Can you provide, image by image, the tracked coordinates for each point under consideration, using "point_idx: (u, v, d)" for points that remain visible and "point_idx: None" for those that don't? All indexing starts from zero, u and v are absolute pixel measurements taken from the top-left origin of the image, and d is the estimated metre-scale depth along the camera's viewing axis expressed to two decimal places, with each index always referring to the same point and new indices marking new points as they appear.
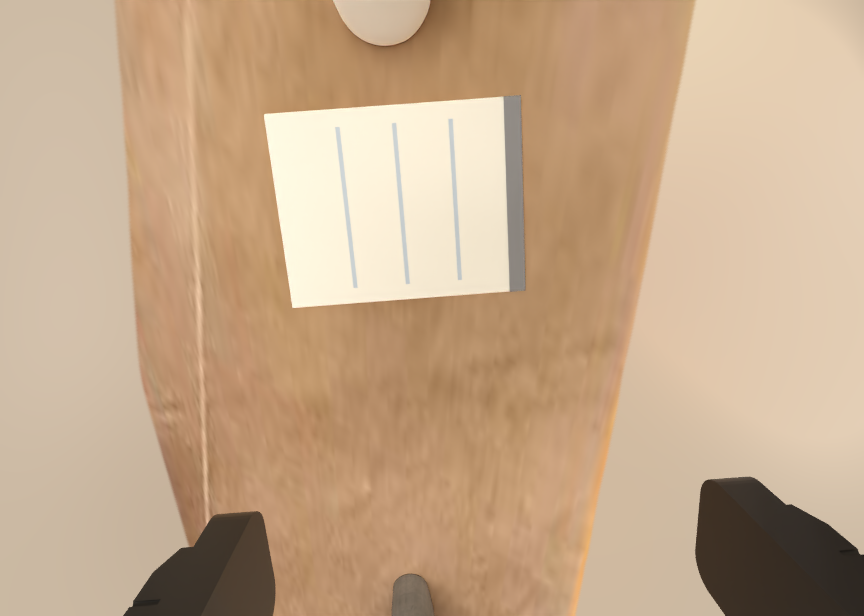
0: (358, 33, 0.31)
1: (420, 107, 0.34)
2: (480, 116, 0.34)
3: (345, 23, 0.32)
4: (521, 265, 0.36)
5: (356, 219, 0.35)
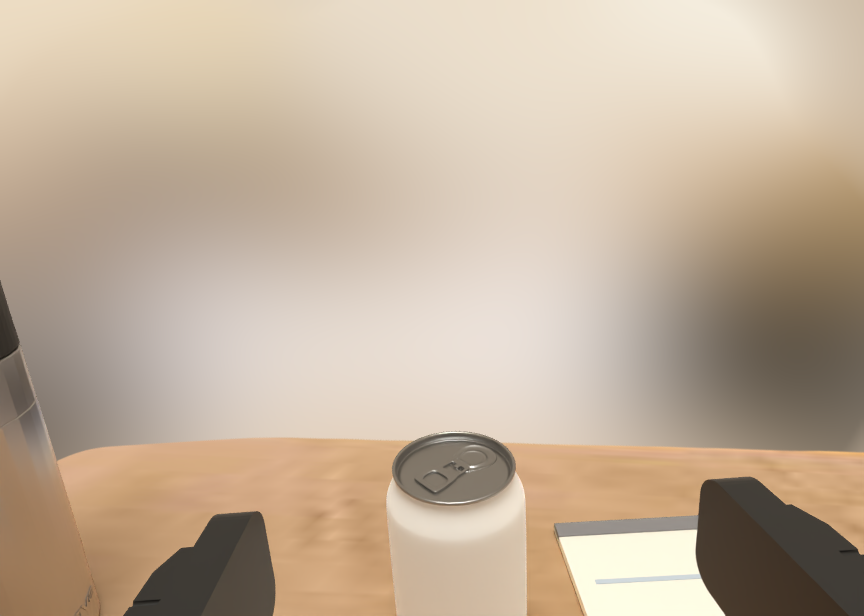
0: None
1: (592, 613, 0.27)
2: (584, 555, 0.31)
3: None
4: None
5: None
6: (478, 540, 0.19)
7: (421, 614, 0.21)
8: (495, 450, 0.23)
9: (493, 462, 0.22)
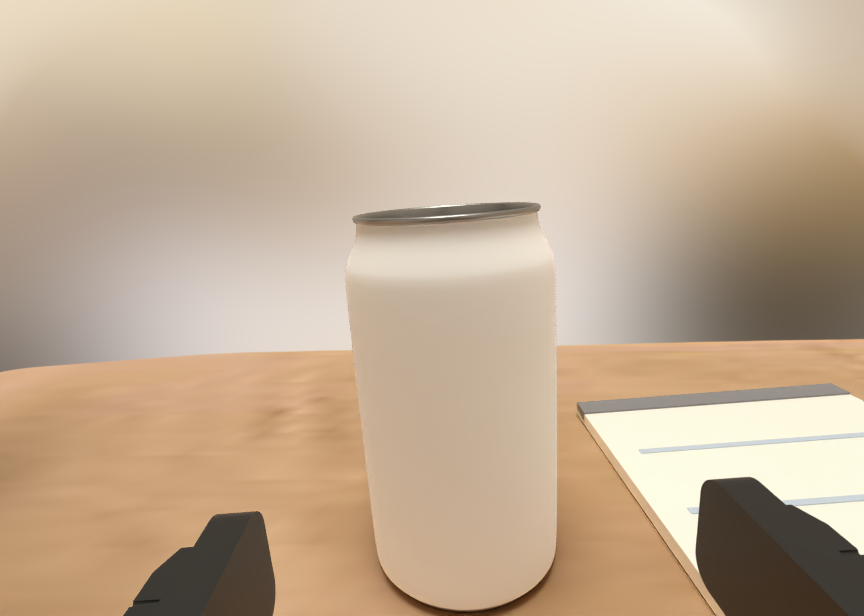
0: (551, 531, 0.15)
1: (640, 481, 0.19)
2: (620, 428, 0.23)
3: (533, 567, 0.15)
4: (798, 388, 0.26)
5: None
6: (487, 278, 0.12)
7: (398, 425, 0.13)
8: None
9: None
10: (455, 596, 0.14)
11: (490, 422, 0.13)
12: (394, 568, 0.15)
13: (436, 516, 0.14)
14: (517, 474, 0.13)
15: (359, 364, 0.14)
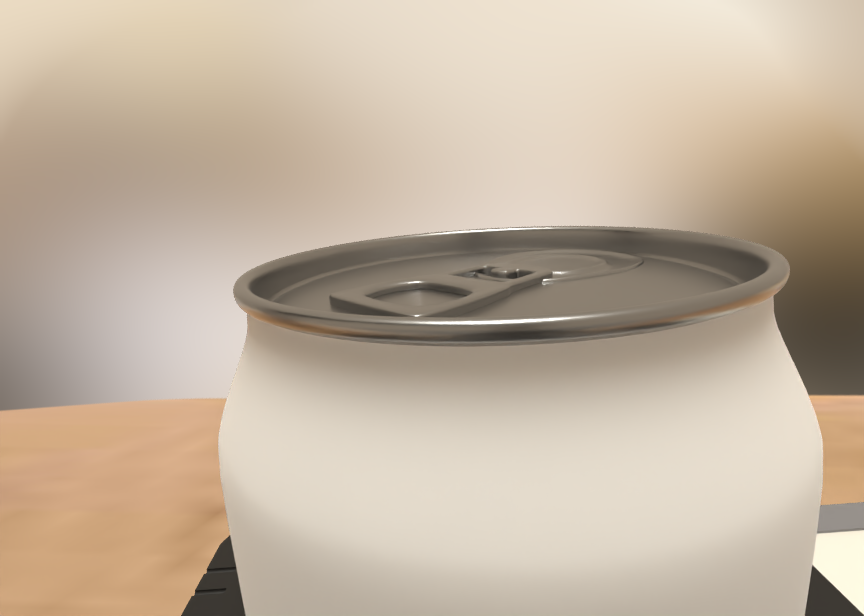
0: None
1: None
2: None
3: None
4: None
5: None
6: (694, 568, 0.03)
7: None
8: None
9: (638, 263, 0.06)
10: None
11: None
12: None
13: None
14: None
15: None
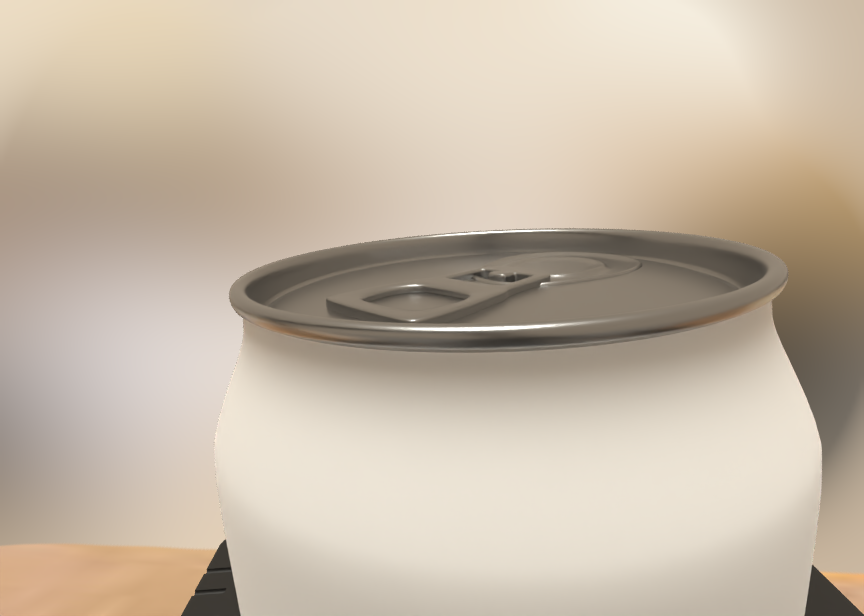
0: None
1: None
2: None
3: None
4: None
5: None
6: (691, 575, 0.03)
7: None
8: None
9: (636, 266, 0.06)
10: None
11: None
12: None
13: None
14: None
15: None
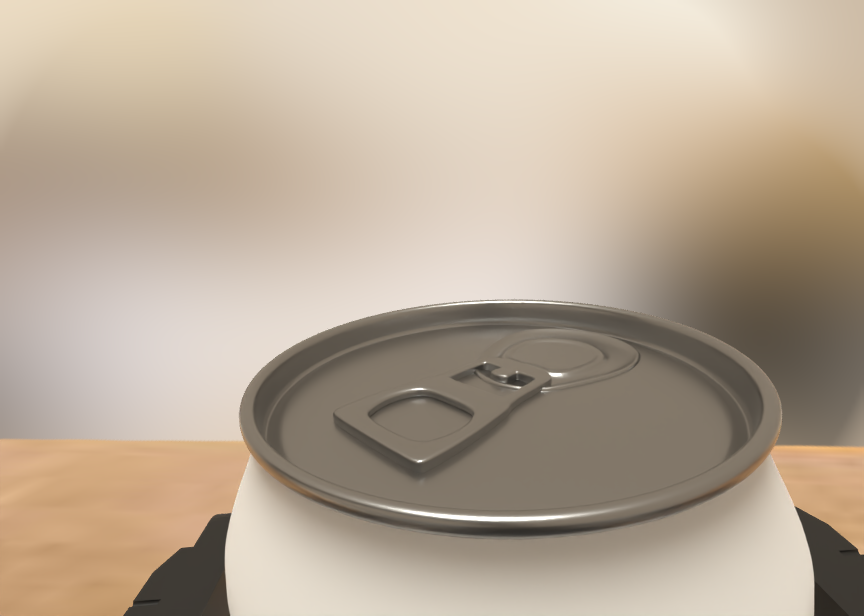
0: None
1: None
2: None
3: None
4: None
5: None
6: None
7: None
8: (618, 338, 0.07)
9: (635, 362, 0.06)
10: None
11: None
12: None
13: None
14: None
15: None
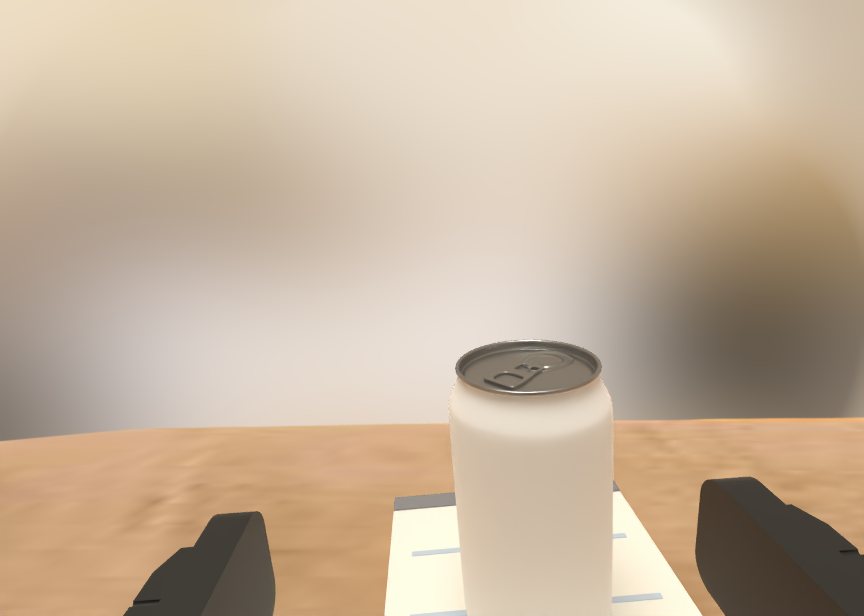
0: (610, 605, 0.20)
1: (393, 586, 0.24)
2: (412, 527, 0.28)
3: None
4: None
5: None
6: (570, 436, 0.16)
7: (499, 535, 0.18)
8: (568, 354, 0.20)
9: (571, 363, 0.19)
10: None
11: (569, 534, 0.17)
12: None
13: (527, 602, 0.18)
14: (587, 570, 0.18)
15: (464, 484, 0.18)
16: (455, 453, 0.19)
